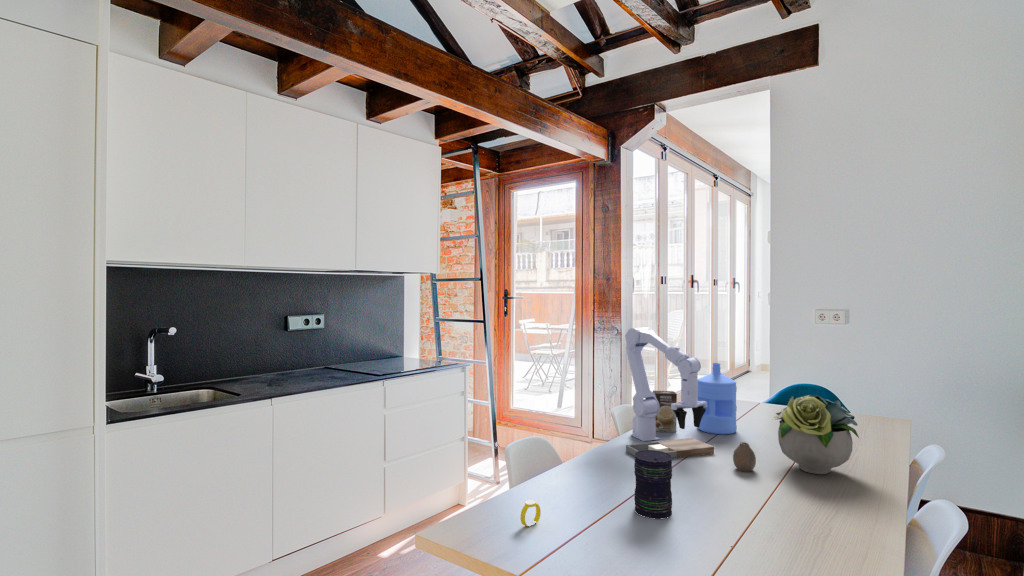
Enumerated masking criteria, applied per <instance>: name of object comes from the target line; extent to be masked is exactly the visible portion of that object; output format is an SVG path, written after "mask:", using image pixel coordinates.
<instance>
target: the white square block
mask: <svg viewBox="0 0 1024 576" xmlns="http://www.w3.org/2000/svg"><path fill="white" fill-rule="evenodd" d="M648 450H655V451H661V452H669V448H668V447H665V446H663V445H661V444H656V445H649V446H648Z"/></svg>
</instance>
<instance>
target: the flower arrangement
mask: <svg viewBox="0 0 1024 576" xmlns="http://www.w3.org/2000/svg"><path fill="white" fill-rule="evenodd" d="M788 399H789V400H788V402H787V404H786V406H785V407H784V408H782V409H781V411H779V412H776V413H775V416H774V417H773V418H772V420H773V421H774V420H775V421H776V420H779V421H778V422H779V425H778V426H779V427H778V430H777V436H778V445H779V447H780V450H781V452H782V453H783V455H785V456H786V457H787V458H788V459H789V460H791V461H792V462H794V463H796V464H797V465H798V468H799V469H800V470H801V471H803V472H807V473H809V474H814V475H827V474H829V473H830V472H831V469H833V468H838V467H840V466H842V465H843V464H845V463H846V462H848V461H849V460H850V457H851V455H852V454H853V444H854V443H853V437H852V434H851V432H852V433H853V434H854V435H855V436H856V437H857V438H858V439H860V436H859V434H858V432H857V430H856V429H855V428H854V427H852V426H849V425H851V424H852V425H853V426H858V422H857V421H856V420H855V416H854V415H852V414H851V413H850V412H849V410H847V409H846V408H845V407H843V406H841V402H840V401H839V399H838V400H834V401H831V400H830V399H828V398H827V399H825V398H823V397H822V396H819V395H817V394H813V395H812V394H809V395H804V396H800V397H796V398H794V396H792V395H791V397H790V398H788Z"/></svg>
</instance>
